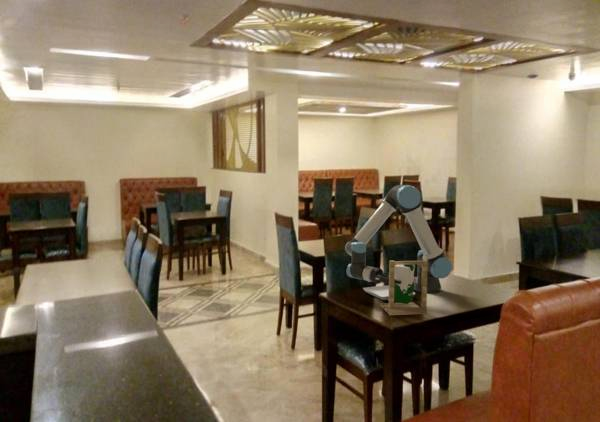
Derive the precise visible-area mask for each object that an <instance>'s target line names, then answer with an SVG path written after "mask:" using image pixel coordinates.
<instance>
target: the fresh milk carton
mask: <svg viewBox="0 0 600 422" xmlns="http://www.w3.org/2000/svg"><path fill="white" fill-rule="evenodd" d="M415 268H416V264H409V265H395V274H394V279H402V280H408V286H403V285H398V284H395V285H394V303H404V304H408V303H413V301H414V295H413V292H414V283H413V282H414V277H415V275H414V274H415Z"/></svg>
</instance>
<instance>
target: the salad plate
mask: <svg viewBox="0 0 600 422" xmlns="http://www.w3.org/2000/svg"><path fill="white" fill-rule="evenodd" d="M362 290H364V292H365V293H368V295H369V294H370V295H371V296H373V297H375V298H377V299H379V298H380V299H379V300H382V301H389V284H387V285H378V286H376V285H375V286H370V287H369V286H368V287H362ZM415 295H416V292H414V291H413V296H415Z"/></svg>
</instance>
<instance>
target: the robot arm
mask: <svg viewBox="0 0 600 422" xmlns="http://www.w3.org/2000/svg"><path fill="white" fill-rule="evenodd" d="M422 207H423V204H422V200H421V193H420V191H419V190H418V188H416V187H415V186H413V185H411V184H397V185H395V186H393V187H392V188H391V189H390V190H389V191H388V192H387V194H386V195H385V196H384V197H383V199H381V204H380V205H379V207H378V208H377V209H376V210H375V212H373V214H372V215H371V216H370V218H368V220H367V221H366V222H365V223H364V224H363V226H362V227H361V228H360V230H359V231H358V232H357V233H356V234H355V236H354V237H353V238H352V240H350V241H348V242H346V244H345V246H344V250H345V253H347V255H348V256H351V263H349V264H348V265H347V266H346V267H347V268H346V275H347V276H348V277H349V278H352V279H355V280H356V279H357V280H361V281H367V283H370V282H372V283H377V284H378V283H384V284H387V285H389V272H386V271H384V270H383V269H382V268H379V267H374V266H369V265H366V261H367V259H366V258H367V244H368V243H369V241H370V240H371V239H372V237H374V235H375V234H376V233H377V231H378V230H379V229H380V228H381V227H382V226H383V225H384V223H385V222H386V220H388V218H389V217H390V216H391V214H392V213H394V212H396V211H397V210H398V209H399V210H400V212H401V214H402V215H404V216H405V217H406V219H407V221H408V224H409V225H410V228H411V230H412V232H413V234H414V236H415V238H416V240H417V243H418V245H419V248H420V250H418V252H417V261H422V260H428V266H427V294H434V293H435V294H436V293H440V292H442V285H441V282H440V279H445V278H447V277H449V275H451V272H452V271H453V263H452V261H451V260H450V258H447V256H446V253H445V252H444V250H443V248H440V247H439V246H438V243H437V241H436V238H435V237H434V234H433V233H432V230H431V228H430V226H429V224H428V221H427V219H426V216H425V215H424V213H423V211H422ZM416 275H417V276H414V282H413V291H416V292H420V293H421V280H422V264H417V274H416ZM395 284H398V285H403V286H408V280H402V279H394V285H395Z"/></svg>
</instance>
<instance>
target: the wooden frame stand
mask: <svg viewBox="0 0 600 422" xmlns="http://www.w3.org/2000/svg"><path fill="white" fill-rule="evenodd" d="M388 263H389V264H388V268H389V269H388V273H389V284H388V285H389V300H388V303H386V302H383V303H382V302H381V303H379V306H380V307H381V308H382V309H383V310H384V311H385V312H386V313H387V314H388V315H389V316H402V315H403V316H406V315H407V316H409V315H427V314H428V308H427V295H428V293H427V266H428V260H422V261H418V260H399V261H398V260H397V261H396V260H393V259H392V260H389V261H388ZM409 264H413V265H418V264H422V280H421V292H420V306H419V305H418V304H417V303H415V302H410V303H408V304H404V303H398V302H394V274H395V265H409Z"/></svg>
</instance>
